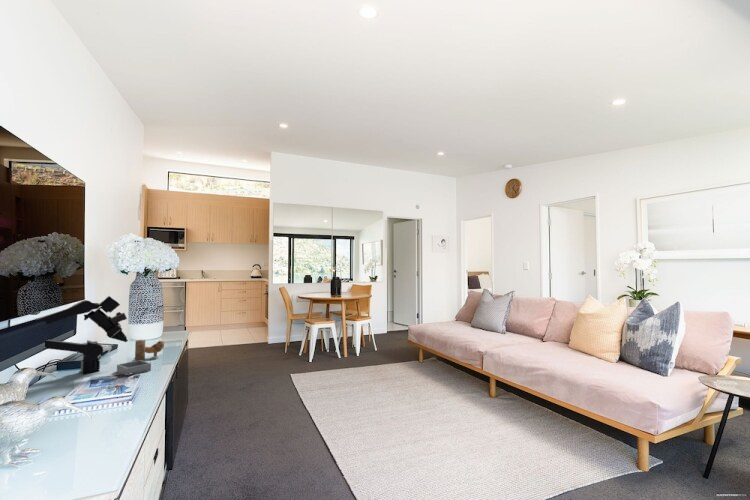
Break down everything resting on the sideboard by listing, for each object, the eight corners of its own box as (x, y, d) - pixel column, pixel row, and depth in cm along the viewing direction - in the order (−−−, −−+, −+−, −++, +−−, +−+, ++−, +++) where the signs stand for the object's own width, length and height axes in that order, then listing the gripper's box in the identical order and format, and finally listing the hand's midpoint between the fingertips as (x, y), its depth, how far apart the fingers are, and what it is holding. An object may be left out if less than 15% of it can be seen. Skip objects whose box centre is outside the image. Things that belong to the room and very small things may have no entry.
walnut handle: (136, 366, 186) (137, 342, 187) (132, 364, 189) (133, 341, 189) (146, 364, 190) (147, 340, 191) (142, 362, 193) (143, 339, 193)
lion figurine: (163, 355, 209) (163, 339, 210) (164, 356, 205) (165, 341, 206) (133, 359, 200) (133, 343, 200) (134, 361, 196) (134, 344, 196)
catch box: (126, 375, 170) (126, 368, 171) (116, 371, 176) (117, 364, 177) (150, 370, 179) (150, 363, 179) (140, 366, 185) (141, 359, 186)
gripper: (117, 309, 176) (142, 330, 182) (115, 306, 191) (138, 325, 197) (95, 326, 171) (122, 347, 177) (95, 321, 186) (120, 341, 192)
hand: (126, 339), depth 186 cm, fingers open, 9 cm apart
